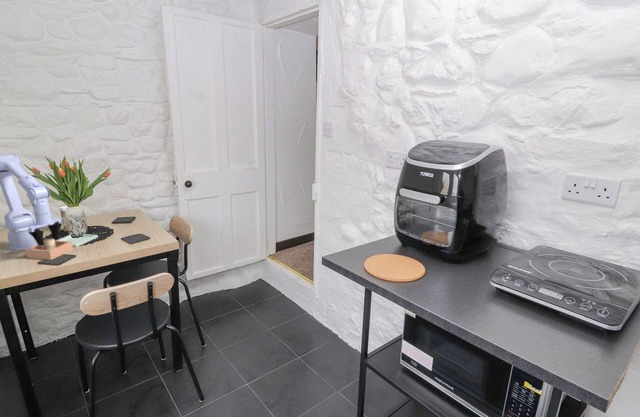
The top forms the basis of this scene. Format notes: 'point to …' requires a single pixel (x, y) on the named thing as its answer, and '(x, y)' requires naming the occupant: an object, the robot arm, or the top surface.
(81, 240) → the sage tray
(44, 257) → the salmon tray
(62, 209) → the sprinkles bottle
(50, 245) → the beech cylinder
